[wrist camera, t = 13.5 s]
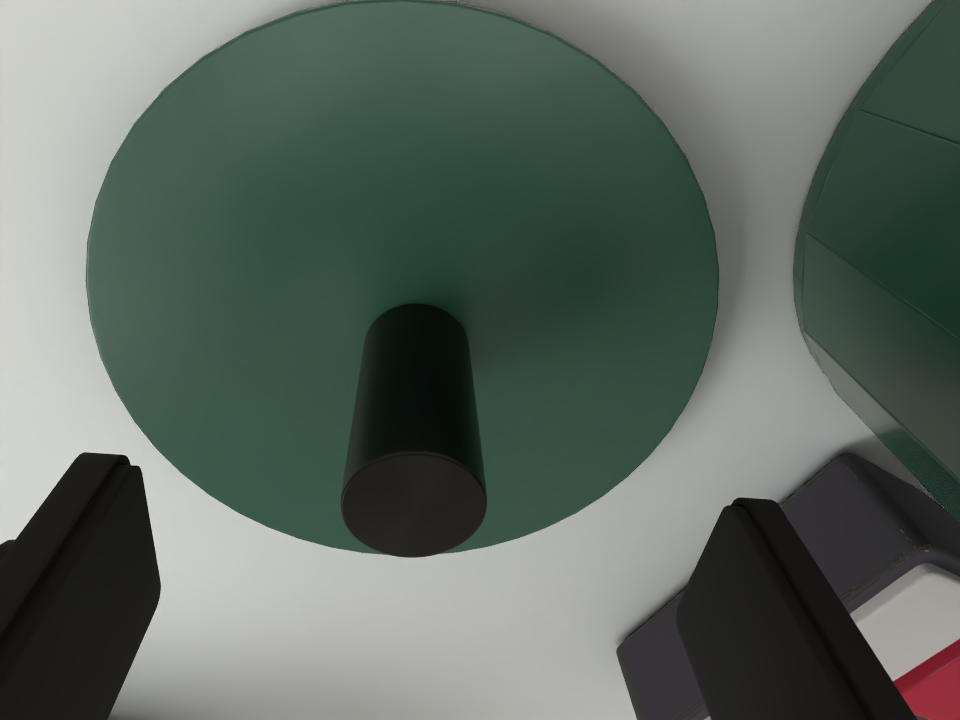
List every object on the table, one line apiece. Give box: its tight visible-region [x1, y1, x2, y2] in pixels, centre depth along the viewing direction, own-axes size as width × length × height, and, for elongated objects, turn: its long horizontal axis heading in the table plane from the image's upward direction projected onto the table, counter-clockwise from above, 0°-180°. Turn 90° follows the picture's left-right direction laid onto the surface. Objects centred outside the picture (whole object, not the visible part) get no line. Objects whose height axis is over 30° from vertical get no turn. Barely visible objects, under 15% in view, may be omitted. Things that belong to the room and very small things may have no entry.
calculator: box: [616, 454, 960, 720], centre depth 22 cm, size 11×4×15 cm
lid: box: [86, 0, 719, 557], centre depth 13 cm, size 14×14×6 cm
